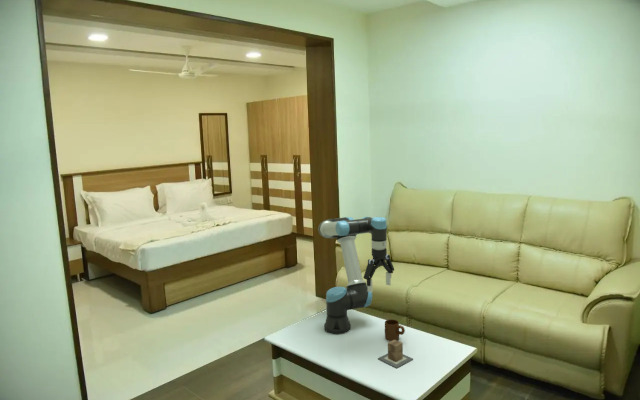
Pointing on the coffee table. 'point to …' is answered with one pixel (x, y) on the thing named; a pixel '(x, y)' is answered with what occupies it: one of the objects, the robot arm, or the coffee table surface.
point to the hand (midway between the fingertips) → (379, 288)
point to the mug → (393, 330)
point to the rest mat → (393, 363)
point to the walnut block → (395, 350)
